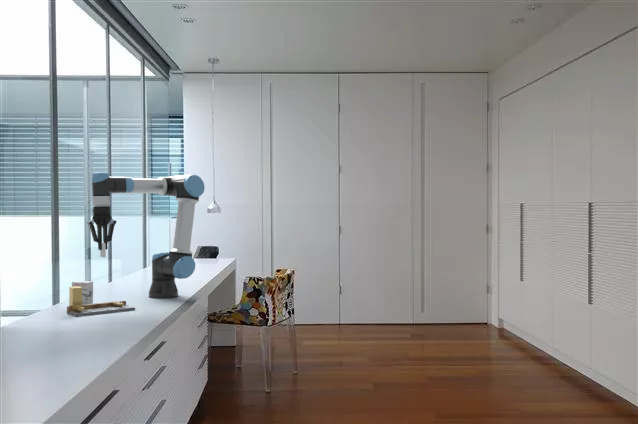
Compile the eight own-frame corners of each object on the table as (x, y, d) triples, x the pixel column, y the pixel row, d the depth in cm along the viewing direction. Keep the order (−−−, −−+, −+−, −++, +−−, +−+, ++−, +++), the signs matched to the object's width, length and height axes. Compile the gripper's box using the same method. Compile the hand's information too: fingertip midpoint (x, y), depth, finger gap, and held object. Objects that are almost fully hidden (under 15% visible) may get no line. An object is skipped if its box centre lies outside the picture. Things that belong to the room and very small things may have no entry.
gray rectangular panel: (128, 307, 272) (128, 304, 272) (135, 310, 266) (135, 306, 266) (70, 314, 256) (70, 310, 255) (76, 316, 249) (76, 313, 249)
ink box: (70, 307, 274) (70, 282, 274) (76, 305, 279) (76, 280, 279) (88, 307, 273) (88, 282, 273) (93, 305, 278) (93, 281, 278)
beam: (124, 306, 276) (124, 300, 276) (132, 309, 269) (132, 302, 269) (66, 312, 259) (66, 306, 259) (73, 315, 252) (73, 308, 252)
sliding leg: (78, 310, 263) (78, 286, 263) (86, 313, 255) (86, 288, 255) (69, 311, 261) (69, 287, 261) (76, 314, 253) (77, 289, 253)
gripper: (112, 205, 275) (113, 255, 276) (84, 206, 267) (85, 257, 267) (118, 205, 269) (120, 256, 270) (90, 206, 261) (91, 258, 262)
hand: (103, 256), depth 269 cm, fingers closed
